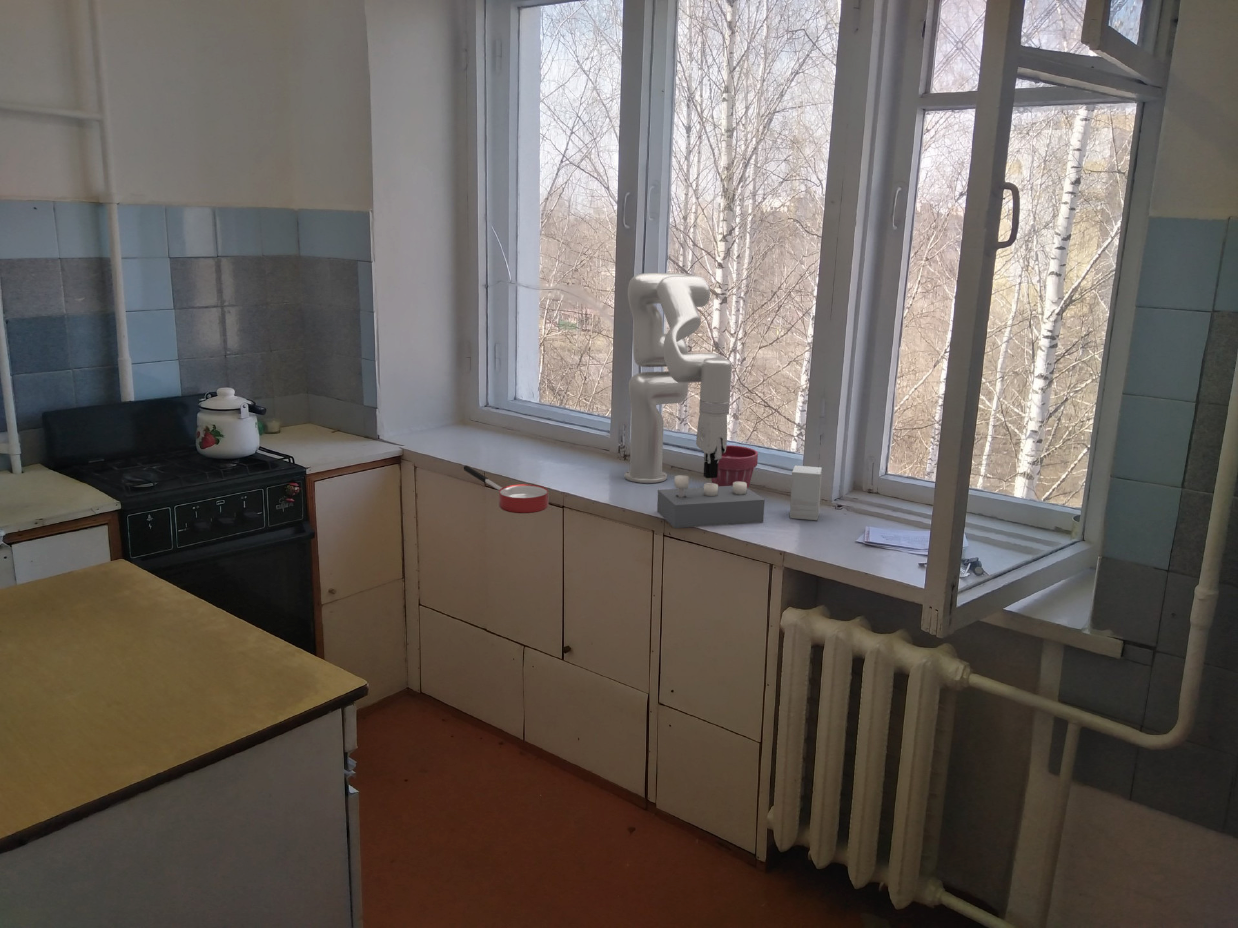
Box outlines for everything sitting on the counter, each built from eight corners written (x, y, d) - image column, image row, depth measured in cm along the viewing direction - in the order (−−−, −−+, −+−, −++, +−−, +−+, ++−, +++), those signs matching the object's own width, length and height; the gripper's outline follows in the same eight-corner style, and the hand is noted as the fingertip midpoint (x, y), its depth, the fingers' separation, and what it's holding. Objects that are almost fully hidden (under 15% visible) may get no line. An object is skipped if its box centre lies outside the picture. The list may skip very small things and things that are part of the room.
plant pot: (746, 505, 259) (749, 459, 255) (697, 498, 264) (699, 453, 261) (761, 492, 271) (764, 448, 268) (714, 485, 277) (716, 442, 274)
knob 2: (700, 509, 248) (702, 483, 247) (713, 508, 249) (715, 482, 248) (705, 513, 245) (706, 487, 243) (718, 512, 246) (720, 486, 244)
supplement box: (819, 513, 253) (823, 467, 250) (817, 521, 246) (821, 473, 243) (791, 510, 255) (794, 464, 252) (788, 518, 248) (791, 471, 245)
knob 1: (672, 502, 246) (672, 475, 244) (685, 501, 247) (686, 474, 245) (676, 506, 242) (677, 479, 240) (689, 505, 243) (691, 478, 241)
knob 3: (729, 507, 250) (730, 481, 249) (742, 507, 251) (743, 481, 250) (734, 511, 247) (736, 485, 245) (747, 511, 248) (749, 484, 246)
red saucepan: (441, 493, 264) (440, 471, 262) (476, 484, 273) (476, 462, 272) (523, 517, 244) (523, 493, 243) (558, 506, 254) (558, 483, 252)
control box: (657, 511, 251) (657, 489, 249) (742, 506, 257) (743, 485, 256) (674, 528, 238) (675, 505, 236) (763, 522, 244) (764, 499, 243)
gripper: (690, 401, 246) (686, 470, 251) (711, 414, 233) (706, 486, 237) (717, 401, 248) (713, 468, 253) (739, 413, 235) (734, 484, 239)
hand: (710, 477), depth 245 cm, fingers closed
